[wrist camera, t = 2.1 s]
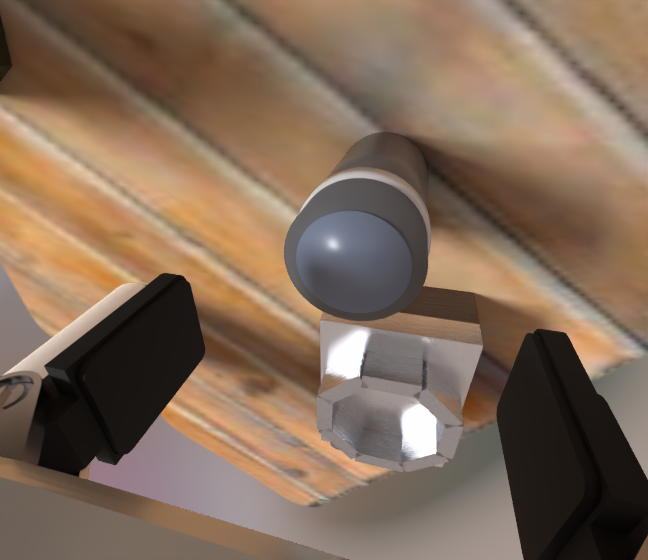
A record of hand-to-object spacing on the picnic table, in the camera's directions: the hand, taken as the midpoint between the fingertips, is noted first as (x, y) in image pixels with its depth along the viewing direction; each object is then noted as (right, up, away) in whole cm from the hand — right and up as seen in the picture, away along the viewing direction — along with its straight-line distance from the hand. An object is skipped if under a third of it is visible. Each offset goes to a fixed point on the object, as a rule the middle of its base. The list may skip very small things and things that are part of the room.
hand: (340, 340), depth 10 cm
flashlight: (+3, +8, +10) cm, 13 cm away
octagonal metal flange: (+5, -4, +17) cm, 18 cm away
